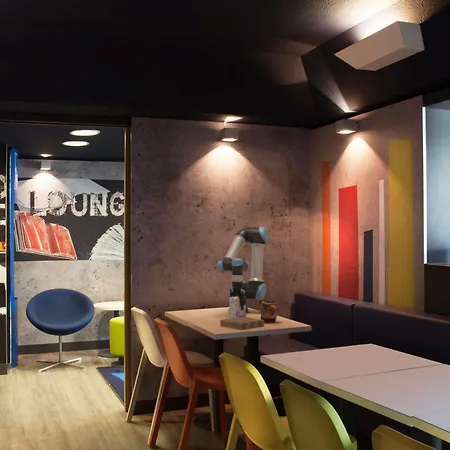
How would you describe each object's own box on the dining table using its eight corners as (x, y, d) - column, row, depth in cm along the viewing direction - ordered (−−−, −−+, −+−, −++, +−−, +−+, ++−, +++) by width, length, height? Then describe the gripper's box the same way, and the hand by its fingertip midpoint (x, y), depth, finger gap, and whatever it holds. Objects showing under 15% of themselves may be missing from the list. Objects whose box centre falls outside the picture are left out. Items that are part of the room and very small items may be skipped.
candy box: (238, 318, 422) (238, 295, 422) (246, 319, 419) (246, 295, 419) (228, 321, 411) (228, 297, 411) (236, 322, 408) (236, 297, 408)
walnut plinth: (243, 322, 405) (243, 316, 405) (264, 326, 390) (263, 320, 390) (220, 326, 392) (220, 319, 392) (241, 329, 377) (241, 323, 377)
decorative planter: (285, 323, 399) (285, 302, 399) (269, 325, 394) (269, 303, 394) (269, 319, 417) (269, 299, 417) (254, 321, 412) (254, 300, 412)
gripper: (223, 280, 420) (223, 313, 420) (243, 282, 405) (243, 316, 405) (231, 279, 425) (232, 312, 425) (251, 281, 410) (251, 315, 410)
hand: (237, 314), depth 415 cm, fingers closed on candy box, 7 cm apart
